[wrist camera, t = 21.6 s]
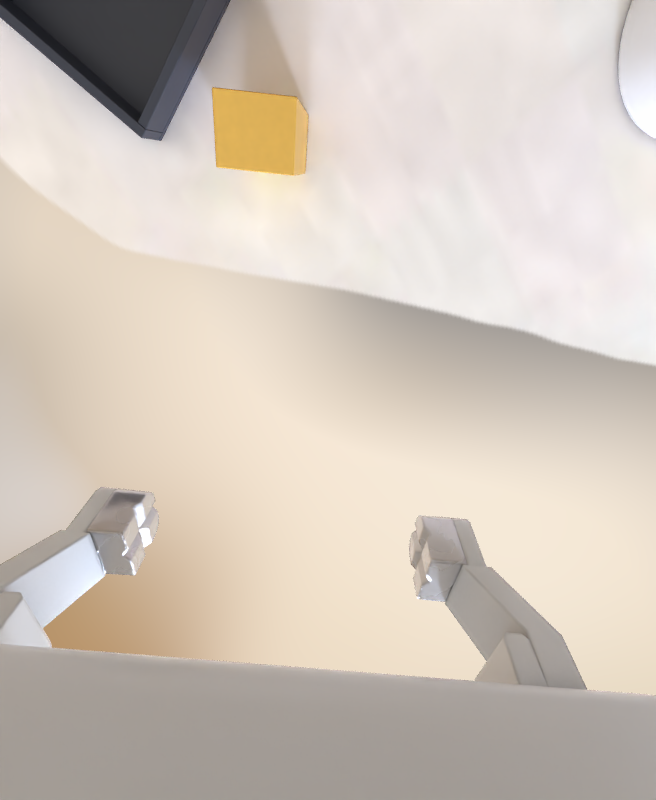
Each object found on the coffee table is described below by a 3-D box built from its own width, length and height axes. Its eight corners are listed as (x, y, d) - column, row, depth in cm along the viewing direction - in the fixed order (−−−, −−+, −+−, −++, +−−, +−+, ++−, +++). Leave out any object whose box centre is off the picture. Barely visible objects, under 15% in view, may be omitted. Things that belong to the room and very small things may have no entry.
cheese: (308, 114, 30) (297, 96, 22) (305, 173, 32) (293, 175, 24) (245, 107, 30) (211, 87, 22) (246, 167, 32) (216, 167, 24)
